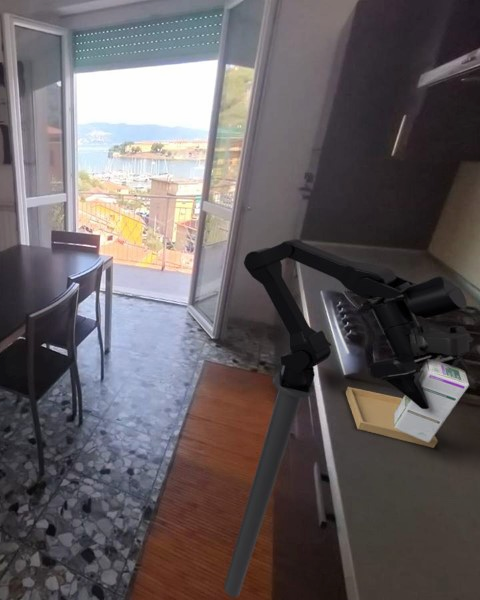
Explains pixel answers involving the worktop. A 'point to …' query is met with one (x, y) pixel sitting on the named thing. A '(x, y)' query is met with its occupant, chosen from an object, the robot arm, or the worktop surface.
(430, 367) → the syrup box
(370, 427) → the tray
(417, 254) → the worktop surface
